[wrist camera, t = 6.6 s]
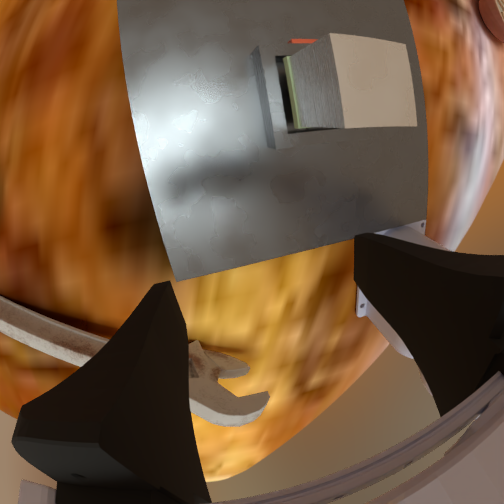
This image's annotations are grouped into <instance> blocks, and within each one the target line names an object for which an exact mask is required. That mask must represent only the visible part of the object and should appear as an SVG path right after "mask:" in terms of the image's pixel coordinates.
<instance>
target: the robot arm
mask: <svg viewBox="0 0 504 504" xmlns="http://www.w3.org/2000/svg"><path fill="white" fill-rule="evenodd" d="M421 224H422V225H421ZM425 227H426V220H422V221H418V222H414V223H411V224H407V225H403V226H399V227H395V228H392V229H388V230H384V231H380V232H376V233H368V232H367V233H363V234H359V235H355V236H354V281H355V282H356V284H357V285H358V287H357V304H356V315H357V316H358V317H362V316H365V315H367V317H368V318H369V319H370V320H371V321H372V322H373V324H374V325H375V326H376V327H377V328H378V330H379V331H380V332H381V333H382V334H383V336H384V337H385V338H386V339H387V340H388V342H389V343H390V344H391V345H392V346H393V348H394V349H395V350H396V351H398V352H399V353H400V354H402V355H404V356H406V357H409V358H412V359H414V360H415V362H416V363H417V365H418V368H419V373H420V378H421V380H422V383H423V385H424V386H425V388H426V389H427V391H428V392H429V393H430V394H431V395H432V396H433V398H434V400H435V403H436V405H437V408H438V410H439V413H440V416H441V418H439V419H438V420H436V421H435V422H433V423H432V424H430V425H429V426H427V427H425V428H424V429H422V430H421V431H419V432H418V433H416V434H414V435H413V436H411V437H409V438H407V439H405V440H404V441H402V442H400V443H398V444H396V445H395V446H393V447H391V448H389V449H387V450H385V451H383V452H381V453H379V454H377V455H375V456H373V457H371V458H368V459H367V460H364V461H362V462H360V463H358V464H355V465H353V466H350V467H349V468H346V469H343V470H341V471H338V472H335V473H333V474H330V475H328V476H325V477H322V478H319V479H316V480H313V481H310V482H307V483H304V484H300V485H297V486H294V487H290V488H287V489H283V490H279V491H275V492H271V493H267V494H262V495H257V496H253V497H247V498H243V499H236V500H230V501H223V502H215V503H212V501H211V498H210V496H209V492H208V489H207V485H206V482H205V478H204V475H203V471H202V467H201V463H200V458H199V454H198V450H197V445H196V440H195V435H194V429H193V423H192V417H191V411H190V401H189V345H188V336H187V329H186V323H185V320H184V318H183V315H182V312H181V310H180V307H179V304H178V302H177V299H176V296H175V293H174V291H173V288H172V285H171V282H170V281H166V282H162V283H157V284H154V285H153V286H152V287H151V289H150V290H149V291H148V292H147V294H146V295H145V296H144V298H143V299H142V301H141V302H140V303H139V305H138V306H137V307H136V309H135V310H134V311H133V313H132V314H131V315H130V316H129V318H128V319H127V320H126V321H125V323H124V324H123V325H122V326H121V327H120V329H119V330H118V331H117V332H116V334H115V335H114V336H113V337H112V338H111V339H110V340H109V341H108V342H107V343H106V344H105V345H104V346H103V347H102V348H101V349H100V350H99V351H98V352H97V353H96V354H95V355H94V356H93V357H92V358H91V359H90V360H88V361H87V362H86V363H85V364H84V365H83V366H82V367H80V368H79V369H78V370H77V371H76V372H74V373H73V374H72V375H71V376H69V377H68V378H67V379H65V380H64V381H62V382H61V383H60V384H58V385H57V386H55V387H54V388H52V389H51V390H49V391H48V392H46V393H44V394H42V395H41V396H39V397H37V398H35V399H34V400H32V401H30V402H28V403H27V404H25V405H23V406H22V407H21V410H20V413H19V417H18V420H17V423H16V427H15V430H14V434H13V437H12V444H13V446H14V448H15V450H16V451H17V452H18V453H19V455H20V456H21V457H23V458H24V459H25V460H26V461H28V462H29V463H30V464H31V465H33V466H34V467H36V468H37V469H39V470H40V471H42V472H43V473H45V474H46V475H48V476H49V477H51V478H52V479H54V480H55V481H57V489H53V488H51V487H48V486H45V485H41V484H38V483H34V482H30V481H27V480H21V484H20V491H19V500H18V504H327V503H330V502H333V501H336V500H338V499H341V498H343V497H346V496H348V495H351V494H353V493H356V492H358V491H360V490H362V489H364V488H367V487H369V486H371V485H373V484H375V483H377V482H379V481H381V480H383V479H385V478H387V477H389V476H391V475H393V474H395V473H397V472H399V471H400V470H402V469H404V468H406V467H407V466H409V465H411V464H413V463H414V462H416V461H417V460H419V459H421V458H422V457H424V456H425V455H427V454H429V453H430V452H431V451H433V450H435V449H436V448H437V447H439V446H440V445H442V444H443V443H445V442H446V441H447V440H449V439H450V438H451V437H453V436H454V435H456V434H457V433H458V432H459V431H461V430H462V429H463V428H465V427H466V426H467V425H468V424H470V423H471V422H472V421H473V420H475V421H474V422H473V423H472V424H471V425H470V426H469V428H468V429H467V430H466V432H465V433H464V434H463V435H462V436H461V437H460V439H459V440H458V441H457V442H456V443H455V444H454V445H453V446H452V447H451V448H450V449H449V450H447V451H446V452H445V454H444V457H443V458H441V459H440V460H438V461H437V462H436V463H434V464H433V465H431V466H430V467H428V468H427V469H425V470H424V471H422V472H421V473H419V474H417V475H416V476H414V477H413V478H411V479H409V480H408V481H406V482H404V483H402V484H401V485H399V486H398V487H396V488H394V489H392V490H390V491H388V492H387V493H385V494H383V495H381V496H379V497H377V498H375V499H373V500H371V501H369V502H367V503H365V504H504V255H477V254H466V253H458V252H452V251H450V250H448V249H446V248H445V247H443V246H442V245H440V244H438V243H437V242H435V241H433V240H432V239H430V238H428V237H427V236H425ZM361 304H362V305H361Z"/></svg>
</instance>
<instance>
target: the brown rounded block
mask: <svg viewBox="0 0 504 504" xmlns="http://www.w3.org/2000/svg"><path fill="white" fill-rule="evenodd" d="M479 10H480V14H481V16H482V19H483V21H484V23H485V25H486V26H487V28H488V29H489V30H490V31H491V33H492V34H493V35H494V36H495V37H496V38H498V39H499V40H500V41H501V42H503V43H504V0H479Z"/></svg>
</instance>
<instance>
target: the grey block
mask: <svg viewBox="0 0 504 504" xmlns="http://www.w3.org/2000/svg"><path fill="white" fill-rule="evenodd" d="M283 61H284V66H285V72H286V78H287V83H288V89H289V95H290V101H291V108H292V114H293V121H294V128H295V129H301V128H310V127H326V128H362V127H391V126H417V117H416V107H415V98H414V90H413V83H412V76H411V70H410V64H409V59H408V54H407V49H406V44H402V43H397V42H392V41H387V40H382V39H376V38H369V37H363V36H355V35H346V34H335V33H328V34H327V35H325V36H323V37H321V38H320V39H318V40H316V41H315V42H313V43H311V44H310V45H308V46H306V47H305V48H303V49H301V50H300V51H298V52H297V53H295V54H294V55H292V56H286V57H285V58H283Z"/></svg>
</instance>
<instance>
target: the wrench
mask: <svg viewBox="0 0 504 504" xmlns="http://www.w3.org/2000/svg"><path fill="white" fill-rule="evenodd" d="M0 332H2V333H4V334H6V335H8V336H10V337H12V338H14V339H16V340H18V341H20V342H22V343H24V344H26V345H28V346H30V347H33V348H35V349H37V350H39V351H42V352H44V353H46V354H49V355H51V356H54V357H56V358H59V359H61V360H64V361H67V362H69V363H72V364H75V365H77V366H80V367H82V366H83V365H84V364H85V363H86V362H87V361H88V360H90V359H91V358H92V357H93V356H94V355H95V354H96V353H97V352H98V351H99V350H100V349H101V348H102V347H103V346H104V345H105V344H106V343H107V342H108V341H109V339H106V338H103V337H100V336H97V335H94V334H91V333H88V332H85V331H83V330H80V329H77V328H74V327H72V326H69V325H66V324H64V323H61V322H59V321H56V320H53V319H51V318H48V317H46V316H44V315H41V314H39V313H36V312H34V311H32V310H29V309H27V308H25V307H23V306H20V305H18V304H16V303H14V302H12V301H10V300H8V299H6V298H4V297H2V296H0ZM188 345H189V401H190V411H191V412H192V413H194V414H196V415H197V416H199V417H201V418H203V419H205V420H207V421H208V422H210V423H213V424H216V425H220V426H242V425H245V424H247V423H250V422H252V421H254V420H255V419H256V418H257V417H259V416H260V415H261V413H262V411H263V410H264V408H265V406H266V405H267V403H268V400H269V398H270V396H269V394H268V391H266V392H261V393H257V394H252V395H248V396H243V397H237V396H235V395H234V394H232V393H231V392H229V391H228V390H227V389H225V388H224V387H222V386H221V385H220V384H218V382H217V380H218V378H222V379H225V378H236V377H240V376H243V375H246V374H247V373H248V372H249V369H250V367H249V366H248V365H247V364H246V363H245V362H243V361H240V360H238V359H236V358H234V357H231V356H228V355H225V354H223V353H219V352H214V351H209V350H204V349H202V347H201V345H200V343H199V340H195V341H194V342H192V343H190V344H188Z"/></svg>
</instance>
